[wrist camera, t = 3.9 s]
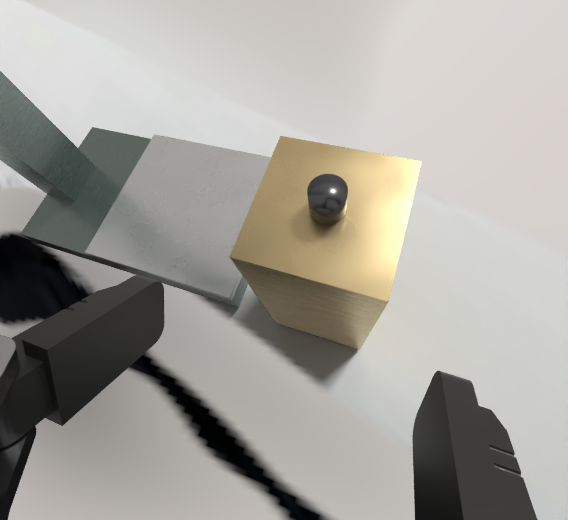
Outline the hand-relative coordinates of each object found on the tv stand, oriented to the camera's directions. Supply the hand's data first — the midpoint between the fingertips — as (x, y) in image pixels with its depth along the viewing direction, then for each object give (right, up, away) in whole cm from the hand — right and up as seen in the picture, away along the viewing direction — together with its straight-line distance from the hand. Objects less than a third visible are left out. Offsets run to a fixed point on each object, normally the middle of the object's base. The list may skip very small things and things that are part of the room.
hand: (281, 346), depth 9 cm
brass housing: (+3, 0, +11) cm, 11 cm away
